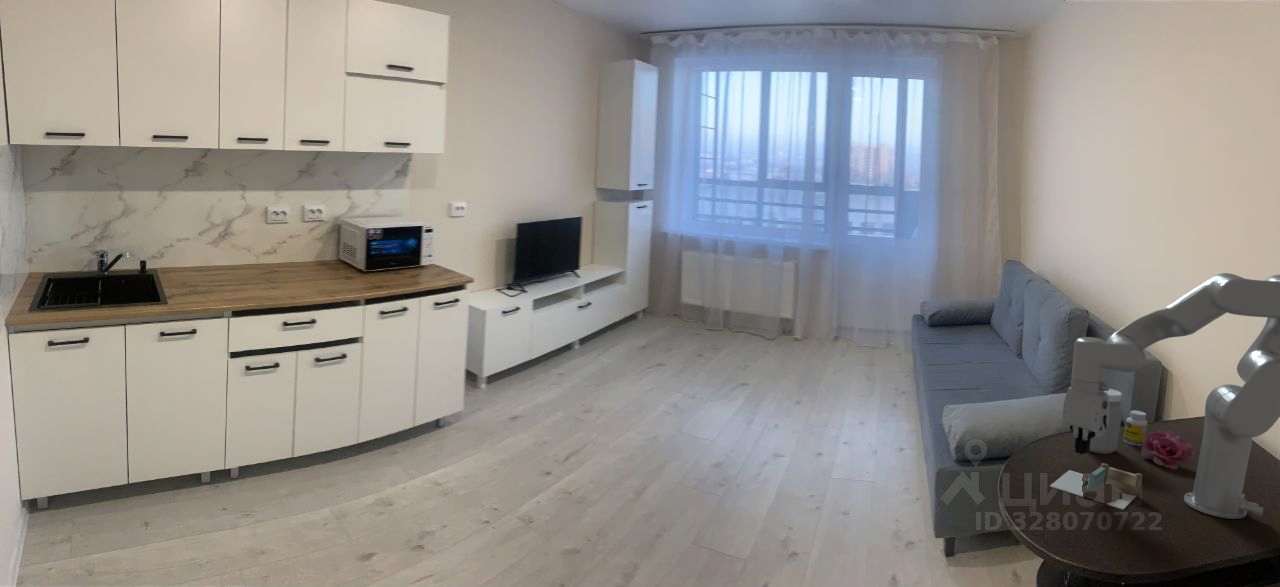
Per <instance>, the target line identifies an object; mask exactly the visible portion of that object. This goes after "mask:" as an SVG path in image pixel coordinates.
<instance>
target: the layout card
mask: <svg viewBox="0 0 1280 587" xmlns="http://www.w3.org/2000/svg"><path fill="white" fill-rule="evenodd" d="M1083 474H1084V473H1080V472H1078V471H1073V470H1070V469H1069V470H1068V471H1066V472H1065V473H1064V474H1063V475H1061V476H1060V477H1059V478H1058V479H1056V480H1055V481H1053V483H1051V484H1050V485H1049V488H1053V489H1056V490H1059V491H1062V492H1065V493H1069V494H1072V495H1074V496H1078V497H1081V498H1084V497H1083V492H1082V485H1083V481H1082V477H1083ZM1122 497H1123V498H1122V499H1118V500H1116V501H1115V502H1110V503H1107V504H1108V505H1107V506H1110V507H1113V508H1116V509H1119V510H1121V511H1122V510H1123V511H1124V510H1125V509H1126V508H1127V507H1128V506H1129V504H1131V503H1132V501H1133V500H1135V498H1137V497H1136V496H1135V495H1133V494H1129V493H1126V492H1123V491H1122Z"/></svg>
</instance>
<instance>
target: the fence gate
mask: <svg viewBox="0 0 1280 587" xmlns="http://www.w3.org/2000/svg"><path fill="white" fill-rule="evenodd" d="M1105 472H1106V468H1103V467H1101V466H1099V467H1098V468H1097V469H1096V470H1094V471H1093V472H1091V473H1089V474H1088V476H1089V478H1088V485H1087V489H1088V488H1090V489H1093V488H1094V487H1096V486H1098V485H1100V484H1102V483H1103V482H1104V476H1105Z"/></svg>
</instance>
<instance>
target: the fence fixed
mask: <svg viewBox="0 0 1280 587" xmlns="http://www.w3.org/2000/svg"><path fill="white" fill-rule="evenodd" d="M1100 467H1103V468H1106V472H1105V476H1104V483H1106V484H1110V485H1112V486H1114V487H1116V488H1118V489H1120V490H1121V491H1123V492H1126V493H1129V494H1133V495H1135V496H1136V497H1135V498H1139V497H1140V493H1141V488H1142V482H1143V473H1141V472H1140V473H1138V472H1136V474H1135V473H1132V472H1130V471H1125V470H1122V469H1119V468H1118V469H1117V468H1114V467H1111V466H1109V464H1107V463H1104V462H1102V463H1101V465H1100ZM1106 481H1107V482H1106Z"/></svg>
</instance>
